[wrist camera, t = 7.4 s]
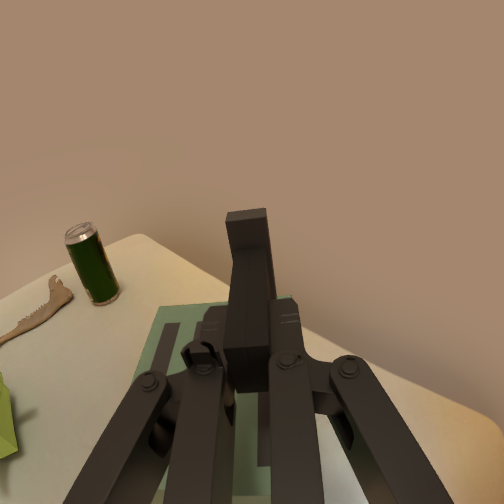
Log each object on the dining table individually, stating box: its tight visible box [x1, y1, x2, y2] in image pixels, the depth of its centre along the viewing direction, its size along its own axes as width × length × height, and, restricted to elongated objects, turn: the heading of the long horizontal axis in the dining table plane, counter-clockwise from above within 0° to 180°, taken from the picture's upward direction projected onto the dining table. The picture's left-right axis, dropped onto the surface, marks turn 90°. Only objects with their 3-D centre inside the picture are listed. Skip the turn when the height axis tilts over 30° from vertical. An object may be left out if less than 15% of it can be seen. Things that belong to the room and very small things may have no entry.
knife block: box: [130, 295, 292, 504], centre depth 19 cm, size 10×14×11 cm
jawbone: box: [0, 275, 73, 345], centre depth 40 cm, size 9×20×2 cm, turn 165°
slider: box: [225, 208, 277, 300], centre depth 17 cm, size 2×2×8 cm
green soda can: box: [64, 222, 119, 306], centre depth 41 cm, size 5×5×12 cm
